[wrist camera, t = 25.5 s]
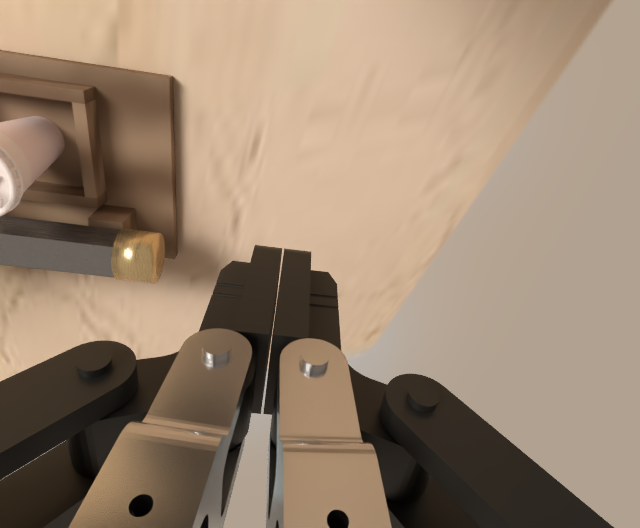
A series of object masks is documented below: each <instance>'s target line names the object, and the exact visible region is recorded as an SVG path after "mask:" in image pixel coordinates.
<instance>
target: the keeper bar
mask: <svg viewBox="0 0 640 528" xmlns="http://www.w3.org/2000/svg"><path fill="white" fill-rule="evenodd" d="M164 256H165V242H164V237H163V235H162V234H161V233H156V232H148V231H140V230H132V229H122V230H117V229H109V228H101V227H93V226H85V225H77V224H69V223H61V222H53V221H45V220H36V219H28V218H20V217H12V216H4V215H2V216H0V264H2V265H10V266H19V267H28V268H36V269H45V270H54V271H62V272H71V273H80V274H88V275H97V276H106V277H114V278H116V279H121V280H129V281H138V282H147V283H156V282H157V281H158V279H159V277H160V274H161V272H162V268H163V263H164Z"/></svg>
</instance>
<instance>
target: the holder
mask: <svg viewBox="0 0 640 528" xmlns="http://www.w3.org/2000/svg"><path fill="white" fill-rule="evenodd" d="M32 116H39V117H43V118H46V119H48V120H50V121H51V122H53V123H54V124H55V125H56V126H57V127H58V128H59V129H60V131H61V132H62V134H63V137H64V140H65V148H64V151H63V153H62V154H61V155H60V156H59V157H58V158H57V159H56V160H55V161H54V162H53V163H52V164H51V165H50V166H49V167H48V168H47V169H46V170H45V171H44V172H43V173H42V174H41V175H40V176H39V177H38V178H37V179H36V180H35V181H34V182H33V183H32V184H31V185H30V186H29V187H28V188H27V190H26V191H25V192H24V193H23V195H22V198H21V200H20V203H19V204H18V205H17V206H16V207H15V208H14V209H13V210H11V211H9V212H7V213H6V214H4V216H12V217H20V218H28V219H36V220H45V221H53V222H61V223H69V224H77V225H85V226H93V227H101V228H109V229H117V230H122V229H132V230H140V231H148V232H156V233H161V234H162V235H163V237H164V242H165V256H164V257H165V258H173V259H175V257H176V255H177V223H176V185H175V147H174V109H173V76H168V75H162V74H155V73H148V72H142V71H135V70H128V69H122V68H115V67H109V66H102V65H95V64H89V63H82V62H75V61H69V60H62V59H56V58H49V57H42V56H36V55H29V54H22V53H16V52H9V51H2V50H0V122H4V121H10V120H15V119H21V118H26V117H32Z"/></svg>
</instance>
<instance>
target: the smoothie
mask: <svg viewBox="0 0 640 528" xmlns="http://www.w3.org/2000/svg"><path fill="white" fill-rule="evenodd" d="M64 148H65V140H64V137H63V134H62V132H61V131H60V129H59V128H58V127H57V126H56V125H55V124H54V123H53V122H51V121H50V120H48V119H46V118H43V117H39V116H32V117H26V118H21V119H15V120H10V121H4V122H0V216H2V215H4V214H6V213H7V212H9V211H11V210H13V209H14V208H15V207H16V206H17V205H18V204H19V203H20V200H21V198H22V195H23V193H24V192H25V191H26V190H27V188H28V187H29V186H30V185H31V184H32V183H33V182H34V181H35V180H36V179H37V178H38V177H39V176H40V175H41V174H42V173H43V172H44V171H45V170H46V169H47V168H48V167H49V166H50V165H51V164H52V163H53V162H54V161H55V160H56V159H57V158H58V157H59V156H60V155H61V154H62V153H63V151H64Z"/></svg>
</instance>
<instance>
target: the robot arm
mask: <svg viewBox="0 0 640 528" xmlns="http://www.w3.org/2000/svg"><path fill="white" fill-rule="evenodd" d="M281 254H282V248H275V247H267V246H259V245H255V247H254V251H253V255H252V258H251V262H250V263H246V262H238V261H232V262H231V263H230V264H228V265H227V266H226V267H225V268H223V269H222V270H221V272H220V274H219V277H218V280H217V283H216V286H215V288H214V291H213V295H212V297H211V299H210V302H209V305H208V308H207V310H206V313H205V316H204V319H203V322H202V324H201V327H200V330H199V332H197V333H195V334H194V335H192V336H190V337H189V338H188V339H187V340H186V341H185V342H184V344H183V345H182V347H181V349H180V351H179V352H176V353H174V354H171V355H167V356H162V357H156V358H148V359H140V360H136V357H135V354H134V352H133V351H132V350H131V349H130V348H129V347H127V346H126V345H124V344H121V343H118V342H114V341H94V342H89V343H85V344H82V345H79V346H77V347H74V348H72V349H70V350H68V351H66V352H63V353H61V354H59V355H57V356H55V357H53V358H50V359H48V360H46V361H44V362H42V363H40V364H37V365H35V366H33V367H31V368H29V369H27V370H25V371H22V372H20V373H18V374H16V375H14V376H12V377H9V378H7V379H5V380H3V381H1V382H0V480H1V479H2V478H4V477H5V478H4V479H2V480H1V481H0V528H223V525H224V521H225V517H226V513H227V509H228V506H229V502H230V498H231V494H232V490H233V486H234V482H235V478H236V474H237V471H238V467H239V463H240V459H241V455H242V451H243V447H244V441H245V436H246V434H247V432H248V429H249V423H250V417H251V413H259V414H261V407H262V400H263V392H264V386H265V378H266V371H267V364H268V357H269V350H270V343H271V336H272V344H271V353H270V362H269V370H268V379H267V388H266V397H265V406H264V414H271V415H272V421H271V431H270V439H269V446H268V477H267V513H266V528H614V527H612V526H611V525H610V524H609V523H608V522H606V521H605V520H604V519H603V518H602V517H600V516H599V515H598V514H597V513H596V512H594V511H593V510H592V509H591V508H590V507H588V506H587V505H586V504H585V503H583V502H582V501H581V500H580V499H579V498H577V497H576V496H575V495H574V494H573V493H571V492H570V491H569V490H568V489H567V488H565V487H564V486H563V485H562V484H561V483H559V482H558V481H557V480H556V479H554V478H553V477H552V476H551V475H550V474H549V473H547V472H546V471H545V470H544V469H543V468H541V467H540V466H539V465H538V464H537V463H535V462H534V461H533V460H532V459H530V458H529V457H528V456H527V455H526V454H524V453H523V452H522V451H521V450H520V449H518V448H517V447H516V446H515V445H514V444H512V443H511V442H510V441H509V440H508V439H506V438H505V437H504V436H503V435H501V434H500V433H499V432H498V431H497V430H496V429H494V428H493V427H492V426H491V425H489V424H488V423H487V422H486V421H484V420H483V419H482V418H481V417H480V416H479V415H477V414H476V413H475V412H474V411H473V410H471V409H470V408H469V407H468V406H467V405H465V404H464V403H463V402H462V401H461V400H459V399H458V398H457V397H456V396H455V395H453V394H452V393H451V392H450V391H449V390H447V389H446V388H445V387H444V386H442V385H441V384H440V383H438V382H437V381H435V380H433V379H431V378H428V377H426V376H422V375H418V374H404V375H399V376H397V377H395V378H393V379H392V380H391V381H390V382H389V383H388V385H386V384H384V383H381V382H378V381H375V380H372V379H370V378H368V377H365V376H363V375H361V374H360V373H358V372H356V371H355V370H354V369H353V368H352V367H351V366H349V364H348V362H347V359H346V357H345V355H344V354H343V353H342V351H341V342H340V326H339V311H338V299H337V297H338V295H337V284H336V282H335V281H334V279H333V278H332V277H331V275H330V274H329V273H328V272H321V271H313V270H311V252H308V251H300V250H291V249H284V256H283V263H282V270H281V277H280V285H279V292H278V299H277V306H276V298H277V290H278V281H279V272H280V263H281ZM275 307H276V314H275ZM274 314H275V321H274ZM273 322H274V328H273ZM272 329H273V335H272ZM65 440H66V441H65ZM64 441H65V442H64ZM62 442H63V443H62ZM60 443H62V444H60ZM59 444H60V445H59ZM57 445H58V446H57ZM55 446H57V447H55ZM54 447H55V448H54ZM52 448H53V449H52ZM50 449H52V450H50ZM49 450H50V451H49ZM47 451H48V452H47ZM45 452H47V453H45ZM43 453H45V454H43ZM42 454H43V455H42ZM40 455H42V456H40ZM39 456H40V457H39ZM37 457H38V458H37ZM35 458H37V459H36V460H34V459H35ZM32 460H34V461H32ZM30 461H32V462H30ZM29 462H30V463H29ZM27 463H29V464H27ZM25 464H27V465H25ZM24 465H25V466H24ZM22 466H24V467H22ZM21 467H22V468H21ZM19 468H21V469H19ZM17 469H19V470H17ZM16 470H17V471H16ZM14 471H16V472H14ZM12 472H14V473H12ZM11 473H12V474H11ZM9 474H10V475H9ZM7 475H9V476H7ZM6 476H7V477H6Z"/></svg>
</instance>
